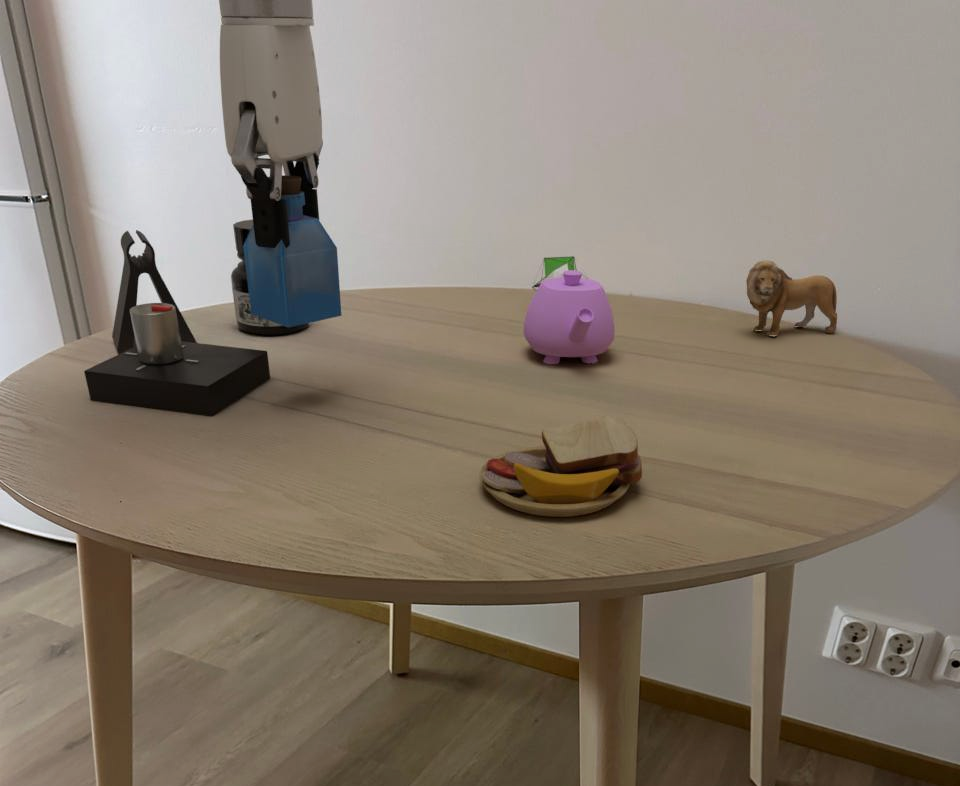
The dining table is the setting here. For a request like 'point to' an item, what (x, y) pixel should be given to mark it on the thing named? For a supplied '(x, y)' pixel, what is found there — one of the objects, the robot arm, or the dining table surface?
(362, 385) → the dining table surface
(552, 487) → the toy sandwich meal
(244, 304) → the ink bottle
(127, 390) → the hob
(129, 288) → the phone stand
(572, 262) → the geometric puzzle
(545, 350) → the teapot
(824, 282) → the lion figurine
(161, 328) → the knob
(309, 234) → the perfume bottle
